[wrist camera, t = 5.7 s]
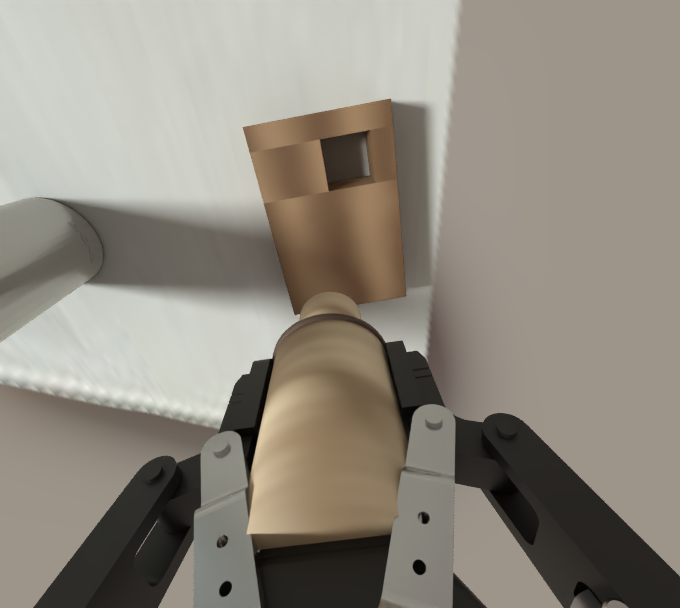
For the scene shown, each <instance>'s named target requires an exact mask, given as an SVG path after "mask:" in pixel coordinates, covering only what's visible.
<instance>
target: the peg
mask: <svg viewBox="0 0 680 608" xmlns="http://www.w3.org/2000/svg"><path fill="white" fill-rule="evenodd" d="M272 360H273V362H274V365H273V369H272V374H271V379H270V384H269V388H268V393H267V398H266V402H265V407H264V412H263V417H262V421H261V426H260V431H259V435H258V440H257V445H256V449H255V454H254V459H253V464H252V468H251V473H250V478H249V485H248V510H249V524H248V529H247V534H251V535H252V537H253V539H254V541H255V543H256V544H257V549H258V553H259V552H260V549H269V548H278V547H286V546H295V545H304V544H312V543H321V542H329V541H338V540H347V539H355V538H364V537H373V536H381V535H390V534H392V528H393V521H394V517H397V516H399V512H398V506H397V496H398V490H399V483H400V477H401V472H402V469H403V468H405V464H406V457H407V451H408V440H407V436H406V432H405V428H404V424H403V420H402V416H401V412H400V408H399V404H398V400H397V396H396V392H395V388H394V384H393V380H392V376H391V372H390V368H389V364H388V360H387V356H386V350H385V341H384V340H383V338H382V336H381V335H380V334H379V333H378V331H377V330H375V329H374V328H373V327H372V326H371V325H369V324H368V323H366V322H364V321H363V320H361V314H360V310H359V308H358V306H357V304H356V303H355V302H354V301H353V300H352V299H351V298H349V297H348V296H346V295H344V294H341V293H337V292H324V293H320V294H317V295H315V296H313V297H312V298H310V299H309V300H308V301H307V302H306V303H305V304H304V306H303V308H302V310H301V313H300V320H299V321H298V322H297V323H295V324H294V325H292V326H291V327H290V328H288V329H287V330H286V331H285V332H284V333H283V334H282V336H281V337H280V339H279V340H278V342H277V344H276V346H275V350H274V353H273V358H272Z"/></svg>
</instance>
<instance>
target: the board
mask: <svg viewBox="0 0 680 608" xmlns="http://www.w3.org/2000/svg"><path fill="white" fill-rule="evenodd" d="M243 130H244V133H245V137H246V141H247V144H248V148H249V152H250V155H251V159H252V162H253V166H254V170H255V173H256V177H257V180H258V184H259V188H260V191H261V195H262V199H263V202H264V206H265V209H266V213H267V217H268V220H269V224H270V227H271V231H272V235H273V238H274V242H275V246H276V249H277V253H278V256H279V260H280V264H281V267H282V271H283V274H284V278H285V282H286V285H287V289H288V293H289V296H290V300H291V303H292V307H293V311H294V314H295V315H298V314H300V313H301V310H302V308H303V306H304V304H305V303H306V302H307V301H308V300H309V299H310V298H312V297H313V296H315V295H317V294H320V293H324V292H337V293H341V294H344V295H346V296H348V297H349V298H351V299H352V300H353V301H354V302H355V303H356V304H363V303H369V302H375V301H381V300H387V299H393V298H399V297H405V296H406V288H405V275H404V262H403V249H402V236H401V223H400V210H399V197H398V184H397V171H396V158H395V145H394V132H393V119H392V106H391V99H386V100H381V101H376V102H371V103H366V104H360V105H355V106H350V107H345V108H340V109H335V110H329V111H324V112H319V113H314V114H309V115H304V116H298V117H293V118H288V119H283V120H278V121H273V122H267V123H262V124H257V125H252V126H247V127H243ZM362 131H365V136H366V145H367V153H368V162H369V171H370V176H366V177H361V178H355V179H350V180H344V181H339V182H333V183H328V180H327V174H326V169H325V163H324V157H323V152H322V146H321V140H320V139H325V138H330V137H335V136H341V135H346V134H351V133H356V132H362Z"/></svg>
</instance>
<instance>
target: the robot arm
mask: <svg viewBox="0 0 680 608" xmlns="http://www.w3.org/2000/svg"><path fill="white" fill-rule="evenodd" d="M102 263H103V250H102V245H101V242H100V240H99V238H98V235H97V234H96V232H95V231H94V229H93V228H92V227H91V225H90V224H89V223H88V222H87V221H86V220H85V219H84V218H83V217H82V216H80V215H79V214H78V213H77V212H75V211H74V210H72V209H71V208H69V207H67V206H65V205H63V204H61V203H58V202H56V201H53V200H49V199H44V198H28V199H23V200H20V201H16V202H12V203H9V204H5V205H2V206H0V342H2V341H3V340H4V339H6V338H7V337H9V336H10V335H12V334H13V333H14V332H16V331H17V330H19V329H20V328H21V327H23V326H24V325H26V324H27V323H29V322H30V321H31V320H33V319H34V318H36V317H37V316H38V315H40V314H41V313H43V312H44V311H46V310H47V309H48V308H50V307H51V306H53V305H54V304H55V303H57V302H58V301H60V300H61V299H63V298H64V297H65V296H67V295H68V294H70V293H71V292H73V291H74V290H76V289H77V288H78V287H80V286H81V285H83V284H84V283H85V282H87V281H88V280H90V279H91V278H92V277H94V276H95V275H96V274H97V273H98V271H99V270H100V269H101V266H102ZM385 350H386V356H387V360H388V364H389V368H390V372H391V376H392V380H393V384H394V388H395V392H396V396H397V400H398V404H399V408H400V412H401V416H402V420H403V424H404V428H405V432H406V436H407V440H408V451H407V457H406V464H405V468H403V469H402V472H401V477H400V483H399V490H398V496H397V506H398V512H399V516H397V517H394V521H393V528H392V534H390V535H381V536H373V537H364V538H355V539H347V540H338V541H329V542H321V543H312V544H304V545H295V546H286V547H278V548H269V549H260V552H259V553H258V549H257V544H256V543H255V541H254V539H253V537H252V535H251V534H247V529H248V524H249V510H248V485H249V478H250V473H251V468H252V464H253V459H254V454H255V449H256V445H257V440H258V435H259V431H260V426H261V421H262V417H263V412H264V407H265V402H266V398H267V393H268V388H269V384H270V379H271V374H272V369H273V365H274V362H273V360H272V359H266V360H259V361H254V362H253V364H252V368H251V371H250V374H245V375H242V376H241V378H240V379H239V380H238V381H237V383H236V384H235V386H234V389H233V392H232V396H231V398H230V401H229V404H228V407H227V410H226V413H225V416H224V418H223V421H222V424H221V427H220V430H219V433H218V434H217V435H215V436H213V437H212V438H211V439H210V440H208V441H207V443H206V444H205V445H204V447H203V449H202V451H201V453H200V454H198V455H196V456H193V457H191V458H188V459H186V460H184V461H181V462H179V463H176V461H175V459H174V458H172V457H170V456H161V457H157V458H155V459H153V460H151V461H149V462H148V463H146V464H145V465H144V466H143V467H142V468H141V469H140V470H139V471H138V472H137V473H136V475H135V476H134V477H133V479H132V480H131V481H130V483H129V484H128V485H127V486H126V488H125V489H124V490H123V492H122V493H121V494H120V495H119V497H118V498H117V499H116V501H115V502H114V503H113V505H112V506H111V507H110V508H109V510H108V511H107V512H106V514H105V515H104V516H103V518H102V519H101V520H100V522H99V523H98V524H97V526H96V527H95V528H94V529H93V531H92V532H91V533H90V535H89V536H88V537H87V538H86V540H85V541H84V542H83V544H82V545H81V547H80V548H79V549H78V550H77V551H76V553H75V554H74V556H73V557H72V558H71V559H70V561H69V562H68V563H67V565H66V566H65V567H64V568H63V570H62V571H61V572H60V574H59V575H58V576H57V578H56V579H55V580H54V581H53V583H52V584H51V585H50V587H49V588H48V589H47V591H46V592H45V593H44V595H43V596H42V597H41V598H40V600H39V601H38V602H37V604H36V605H35V606H34V608H158V606H159V604H160V603H161V601H162V599H163V597H164V595H165V593H166V591H167V589H168V587H169V585H170V583H171V582H172V580H173V578H174V576H175V574H176V572H177V570H178V568H179V566H180V564H181V562H182V561H183V559H184V557H185V555H186V553H187V551H188V549H189V547H190V545H191V543H192V542H193V540H194V597H193V598H194V599H193V603H194V605H193V608H487V607H486V606H485V605H484V604H483V603H482V602H481V601H480V600H479V599H478V598H477V597H476V596H475V595H474V594H473V593H472V591H470V590H469V588H468V587H467V586H466V585H465V584H464V583H463V582H462V581H461V580H460V579H459V578H458V577H457V576H456V575H455V574H454V573H453V548H454V492H455V487H454V486H455V483H456V484H461V485H466V486H471V487H476V488H481V490H482V491H483V493H484V494H485V496H486V497H487V499H488V500H489V501H490V503H491V504H492V506H493V507H494V509H495V510H496V512H497V513H498V514H499V516H500V517H501V519H502V520H503V522H504V523H505V524H506V526H507V527H508V529H509V530H510V532H511V533H512V534H513V536H514V537H515V539H516V540H517V541H518V543H519V544H520V546H521V547H522V549H523V550H524V552H525V553H526V554H527V556H528V557H529V559H530V560H531V561H532V563H533V564H534V566H535V567H536V569H537V570H538V572H539V573H540V574H541V576H542V577H543V579H544V580H545V582H546V583H547V584H548V586H549V587H550V589H551V590H552V592H553V593H554V595H555V596H556V597H557V599H558V600H559V602H560V603H561V604H562V606H563V607H564V608H680V576H679V575H678V574H677V573H676V572H675V571H674V570H673V569H672V568H671V567H670V566H669V565H667V563H666V562H665V561H664V560H663V559H662V558H661V557H660V556H659V555H658V554H657V553H656V552H655V551H653V550H652V548H650V547H649V545H648V544H647V543H645V542H644V541H643V540H642V539H641V538H640V537H639V536H638V535H637V534H636V533H635V532H634V531H633V530H632V529H631V528H630V527H629V526H628V525H627V524H626V523H625V522H624V521H623V520H622V519H621V518H620V517H619V516H618V515H617V514H616V513H615V512H614V511H613V510H612V509H611V508H610V507H609V506H608V505H607V504H606V503H605V502H604V501H603V500H602V499H601V498H600V497H599V496H598V495H597V494H596V493H595V492H594V491H593V490H592V489H591V488H590V487H589V486H588V485H587V484H586V483H585V482H584V481H583V480H582V479H581V478H580V477H579V476H578V475H577V474H576V473H575V472H574V471H573V470H572V469H571V468H570V467H569V466H568V465H567V464H566V463H565V462H564V461H563V460H562V459H560V457H559V456H558V455H557V454H556V453H555V452H554V451H553V450H552V449H551V448H550V447H549V446H548V445H547V444H546V443H545V442H544V441H543V440H542V439H541V438H540V437H539V436H538V435H537V434H536V433H535V432H534V431H533V430H531V429H530V427H529V426H528V425H526V424H525V423H524V422H523V421H522V420H520V419H519V418H517V417H515V416H513V415H510V414H504V413H497V414H492V415H490V416H488V417H487V418H486V419H485V420H484V422H475V421H469V420H464V419H461V418H459V417H456V416H455V415H453V414H452V413H451V412H450V411H449V410H448V409H447V408H446V407H445V405H444V403H443V401H442V398H441V396H440V393H439V391H438V388H437V386H436V383H435V381H434V378H433V377H432V373H431V371H430V369H429V366H428V363H427V361H426V358H425V357H424V356H422V355H421V354H420V353H419V352H418V351H412V352H406V349H405V346H404V343H403V341H395V342H388V343H385ZM156 521H157V523H156V525H155V526H154V524H155V522H156ZM153 526H154V528H153V529H152V527H153ZM151 529H152V531H151V532H150V530H151ZM149 532H150V534H149V535H148V533H149ZM147 535H148V537H147ZM146 537H147V539H146V540H145V538H146ZM144 540H145V542H144V544H143V545H142V547H141V548H140V546H141V544H142V543H143V541H144ZM139 548H140V550H139V552H138V553H137V551H138V549H139ZM136 553H137V554H136ZM135 555H136V556H135Z"/></svg>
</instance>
